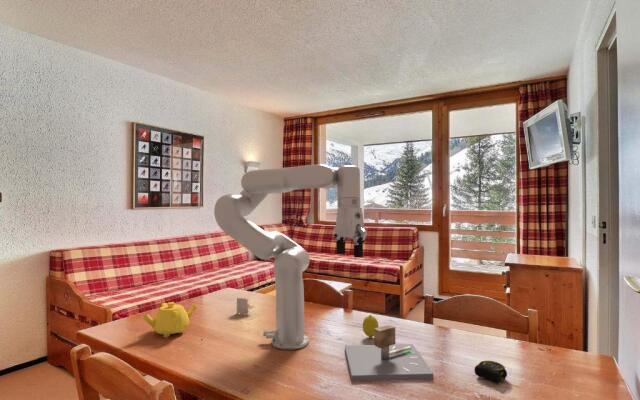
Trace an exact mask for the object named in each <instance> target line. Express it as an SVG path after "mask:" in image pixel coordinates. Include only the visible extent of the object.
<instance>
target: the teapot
mask: <svg viewBox="0 0 640 400" xmlns="http://www.w3.org/2000/svg"><path fill="white" fill-rule="evenodd" d="M197 309H198V305H195V304H192V305H191V307H190V308H189V309H188V311H186V310H185V308H184V306H183V305H182V304H178V303H177V304H176V303H175V302H174V301H171V302H169V301H168V303H167V302H162V303H161V307H160V308H159V309H158V311H157V312H156V313H155V316H154V317H153V318H152V317H151V316H150V314H148V313H145V314H143V316H142V317H141V319H143V320H144V321H145V322H146V323H147V324H148V325H149V326H151V328H152V330H153V331H154V332H155V333H157V334H158V335H163V336H162V338H163V337H167V338H169V337H170V336H171V334H172V335H174V334H178V333H179V334H178V335H181V334H180V333H183V334H185V330H186V329H187V327H189V324H190V318H191V317H192V315H193V314H194V313H195V311H196V310H197Z"/></svg>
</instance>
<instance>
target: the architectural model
mask: <svg viewBox="0 0 640 400" xmlns="http://www.w3.org/2000/svg"><path fill="white" fill-rule="evenodd" d="M248 300H249V299H248V298H246V297H243V298H241V297H236V314H237V313H240V314H246V315H245V316H248V313H249V310H251V309H253V308H255V305H251V304H249V303H248V302H249V301H248ZM240 314H239V315H240Z"/></svg>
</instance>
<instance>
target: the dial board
mask: <svg viewBox="0 0 640 400" xmlns="http://www.w3.org/2000/svg"><path fill="white" fill-rule="evenodd" d="M407 346H410V347H411V350H408V351H405V352H401V353H398V354H394V355H391V356H389V359H383V358H381V348H378V347H376V346H374V344H364V345H363V344H357V345H356V344H355V345H344V352H345V357H346V361H347V365H348V370H349V373H350V374H349V375H350V378H351V382H360V381H361V382H363V381H364V382H368V381H369V382H371V381H372V382H373V381H375V382H376V381H409V380H410V381H411V380H412V381H414V380H419V381H420V380H434V377H435V376H434V372H433V371H432V370H431V368H430V366H429V365H428V364H427V362H426V361H425V360H424V358H423V357H422V356H421V354H420V353H419V351H418V349H416V347H415V345H414V344H413V343H407V344H405V343H404V344H403V343H401V344H397V343H395V344H394V345H390V346H389V351H393V350H396V349H400V348H403V347H407Z"/></svg>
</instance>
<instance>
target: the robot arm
mask: <svg viewBox="0 0 640 400" xmlns="http://www.w3.org/2000/svg"><path fill="white" fill-rule="evenodd" d="M360 172H361V170H360V168H359V166H357V165H342V166H339V167H332V166H329V165H328V164H327V165H326V164H307V165H306V164H305V165H298V166H287V167H280V168H279V167H278V168H277V167H276V168H266V169H265V168H263V169H255V170H249V171H246V172H245V173H244V174H243V175H242V177H241V180H240V184H241V187H242V190H241V192H240V193H227V194H224V195H222V196H220V197H219V198H218V199H217V200H216V202H215V203H214V209H213V210H214V211H213V212H214V214H213V215H214V219H215V221H216V222H215V223H217V225H218V228H220V230H222V231H223V232H224V233H225V234H226V235H227V236H229V237H230V238H231V239H232V240H234V241H236V242H237V243H238V244H240V245H241V246H242V247H243V248H245V249H246V250H247V251H248V252H250V253H252V254H253V255H254V256H256V257H257V258H259V259H260V260H269V259H272V258H273V260H274V262H273V275H274V283H275V306H276V307H275V308H276V309H275V312H276V313H275V316H276V317H275V318H276V319H275V321H276V322H275V324H276V325H275V326H276V327H275V328H274V329H272V330H267V329H266V330H263V333H262V334H263V337H265V339H271V345H272V346H273V347H274V348H276V349H280V350H286V351H288V350H289V351H291V350H298V349H302V348H304V347H306V346H307V345H308V344H309V342H310V337H309V336H308V335H306V334H305V294H304V293H305V292H304V291H305V290H304V287H305V286H304V279H303V272H305V271H306V270H307V269H308V267H309V265H310V262H311V261H310V255H309V253H308V251H307V250H306V249H305V248H303V247H302V246H301V245H300V244H298V243H297V242H295V241H293V240H292V239H291V238H289V237H288V236H286V235H285V234H284V233H282V232H280V231H277V230H269V231H268V230H264V229H262V228H261V227H260V226H258V225H256V223H254V222H252V221H250V220H249V219H247V218H245V217H247V216H248V215H250V214H251V213H252V212H254V210H256V208H257V207H259V205H260V204H261V203H262V202H263V201H265V199H266V198H267V196H268V195H269V194H283V193H290V192H292V191H297V190H305V189H306V190H307V189H308V190H309V189H325V190H328V189H334V188H335V189H337V191H336V193H337V194H336V195H337V198H336V199H337V201H336V203H337V204H336V205H337V210H336V211H337V212H336V218H335V219H336V221H335V226H334V227H333V229H332V230H333V234H334V239H335V243H336V254H337V255H341V254H342V255H345V254H346V242H345V239H352V241H353V242H354V245H353V257H354V258H363V256H364V244H365V241H366V238H367V235H368V231H367V230H366V229H365V223H364V222H365V221H364V214H363V209H362V207H361V173H360Z"/></svg>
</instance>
